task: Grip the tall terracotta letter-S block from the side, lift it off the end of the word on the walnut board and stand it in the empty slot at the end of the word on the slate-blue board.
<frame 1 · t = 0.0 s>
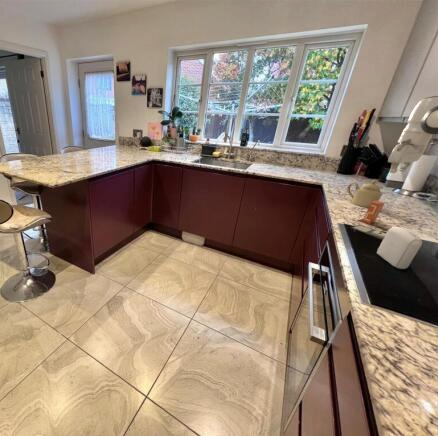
hand: (397, 172, 103), 25 cm above the worktop, tool pointing down, fingers open, 8 cm apart
photo printer: (389, 261, 83), on the worktop
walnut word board: (383, 229, 106), on the worktop
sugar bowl: (358, 203, 137), on the worktop
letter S: (368, 221, 111), point 1 cm above the worktop, touching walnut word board
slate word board: (378, 236, 99), on the worktop
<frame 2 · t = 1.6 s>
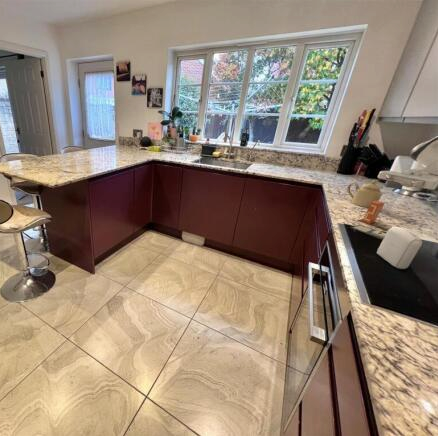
hand: (399, 180, 108), 20 cm above the worktop, tool horizontal, fingers open, 8 cm apart
nothing on the worktop moved.
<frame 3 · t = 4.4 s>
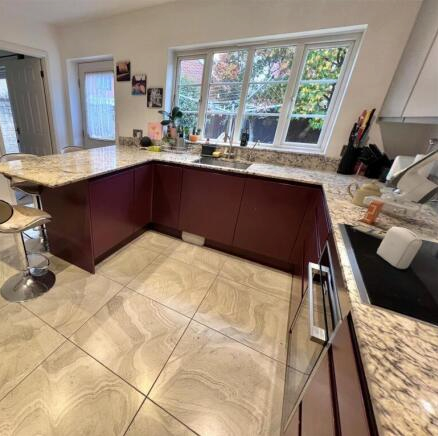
hand: (382, 207, 111), 7 cm above the worktop, tool horizontal, fingers open, 8 cm apart
nothing on the worktop moved.
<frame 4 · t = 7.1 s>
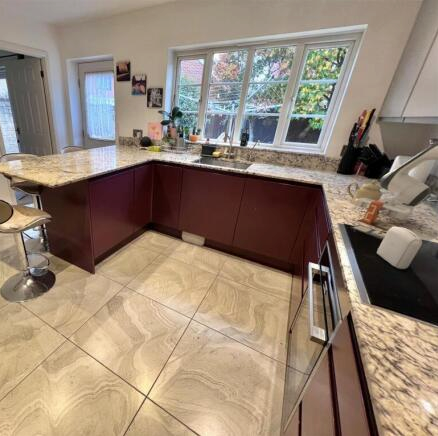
hand: (373, 210, 108), 7 cm above the worktop, tool horizontal, fingers closed on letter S, 3 cm apart
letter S: (368, 221, 111), point 1 cm above the worktop, touching gripper, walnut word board
everything else where it was.
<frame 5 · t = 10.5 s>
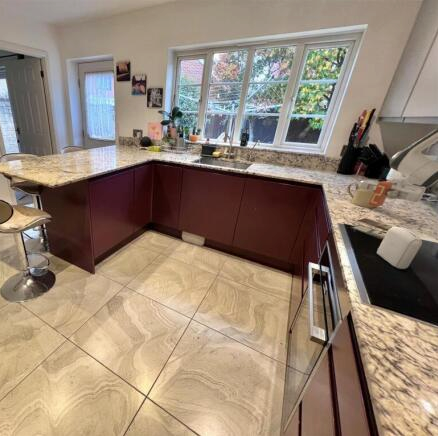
hand: (380, 191, 98), 18 cm above the worktop, tool horizontal, fingers closed on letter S, 3 cm apart
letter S: (375, 204, 101), point 12 cm above the worktop, touching gripper
everything else where it was.
when the fingers open (7 cm above the worktop, at t = 14.1 s): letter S stays where it is, resting on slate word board.
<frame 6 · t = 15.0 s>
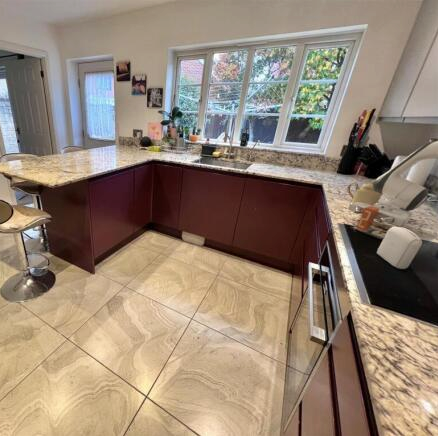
hand: (368, 215, 100), 7 cm above the worktop, tool horizontal, fingers open, 8 cm apart
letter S: (362, 228, 104), point 1 cm above the worktop, touching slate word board
everything else where it was.
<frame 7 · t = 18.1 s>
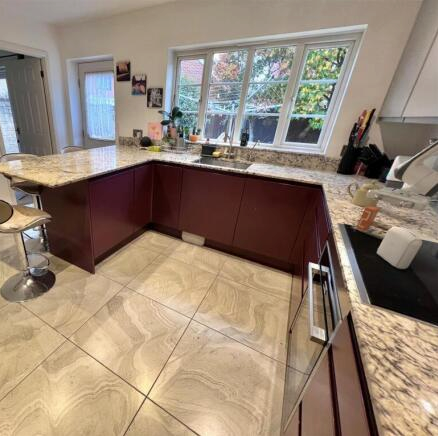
hand: (388, 201, 103), 13 cm above the worktop, tool horizontal, fingers open, 8 cm apart
nothing on the worktop moved.
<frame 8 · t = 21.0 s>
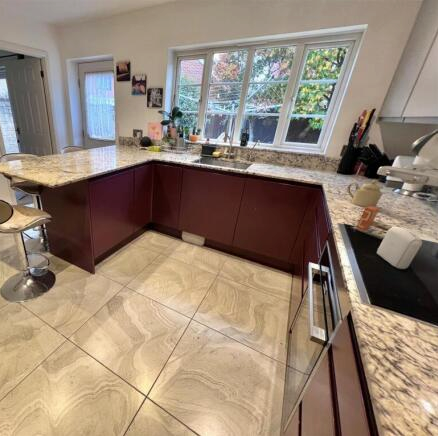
hand: (400, 176, 99), 24 cm above the worktop, tool horizontal, fingers open, 8 cm apart
nothing on the worktop moved.
at the end: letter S 0.1 cm from the target spot, point 1.0 cm above the worktop; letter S tilted 0°; the gripper is holding nothing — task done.
